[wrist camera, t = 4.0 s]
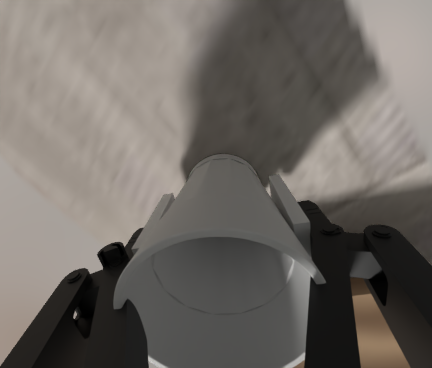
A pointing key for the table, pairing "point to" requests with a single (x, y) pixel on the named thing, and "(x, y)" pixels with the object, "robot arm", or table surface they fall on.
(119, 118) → the table surface
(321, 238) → the robot arm
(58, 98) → the table surface
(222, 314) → the cup
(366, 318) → the low wooden table
